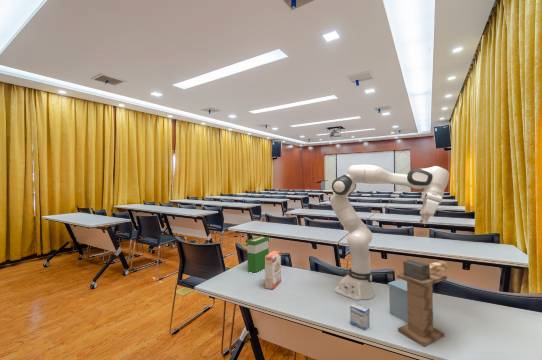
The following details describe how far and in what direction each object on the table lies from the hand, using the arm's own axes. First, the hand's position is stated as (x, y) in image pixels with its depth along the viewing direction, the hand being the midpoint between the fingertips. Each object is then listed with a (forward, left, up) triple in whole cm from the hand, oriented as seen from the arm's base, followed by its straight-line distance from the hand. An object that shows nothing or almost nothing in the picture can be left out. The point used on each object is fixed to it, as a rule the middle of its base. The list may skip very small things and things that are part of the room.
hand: (422, 223), depth 129 cm
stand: (+2, -20, -46) cm, 50 cm away
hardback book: (-111, -2, -46) cm, 120 cm away
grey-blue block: (-6, -5, -46) cm, 46 cm away
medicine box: (-23, -30, -46) cm, 59 cm away
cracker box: (-84, -18, -46) cm, 97 cm away
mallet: (+4, -15, -20) cm, 25 cm away
